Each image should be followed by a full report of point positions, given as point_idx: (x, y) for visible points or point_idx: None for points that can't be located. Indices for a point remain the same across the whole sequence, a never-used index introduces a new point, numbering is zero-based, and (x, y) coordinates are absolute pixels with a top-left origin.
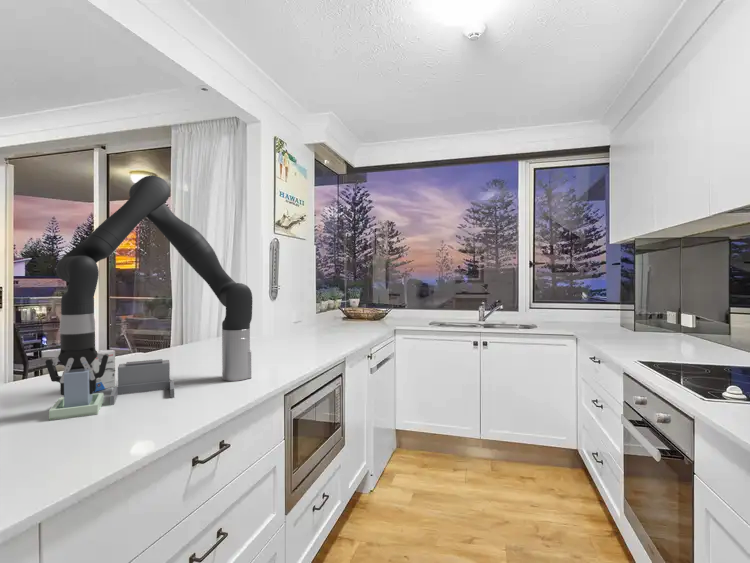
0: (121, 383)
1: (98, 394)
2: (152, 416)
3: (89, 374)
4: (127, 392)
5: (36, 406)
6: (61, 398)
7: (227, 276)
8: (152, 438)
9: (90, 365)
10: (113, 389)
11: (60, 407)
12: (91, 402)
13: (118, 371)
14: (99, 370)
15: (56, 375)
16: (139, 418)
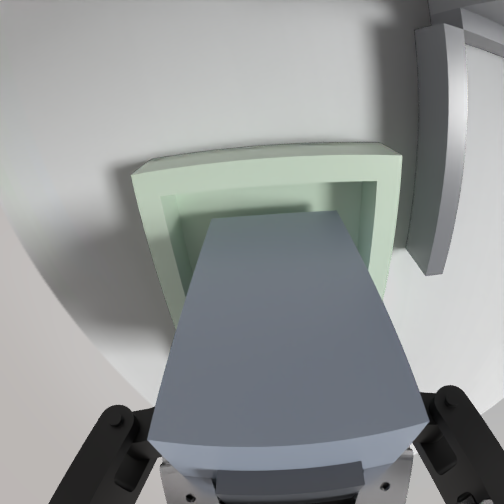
0: (485, 12)
1: (373, 180)
2: (458, 382)
3: None
4: (476, 45)
5: (43, 128)
6: (150, 207)
7: None
8: (410, 446)
9: (392, 492)
10: (452, 104)
11: (189, 274)
12: (326, 200)
13: None
14: (427, 463)
15: (124, 445)
16: (434, 390)
